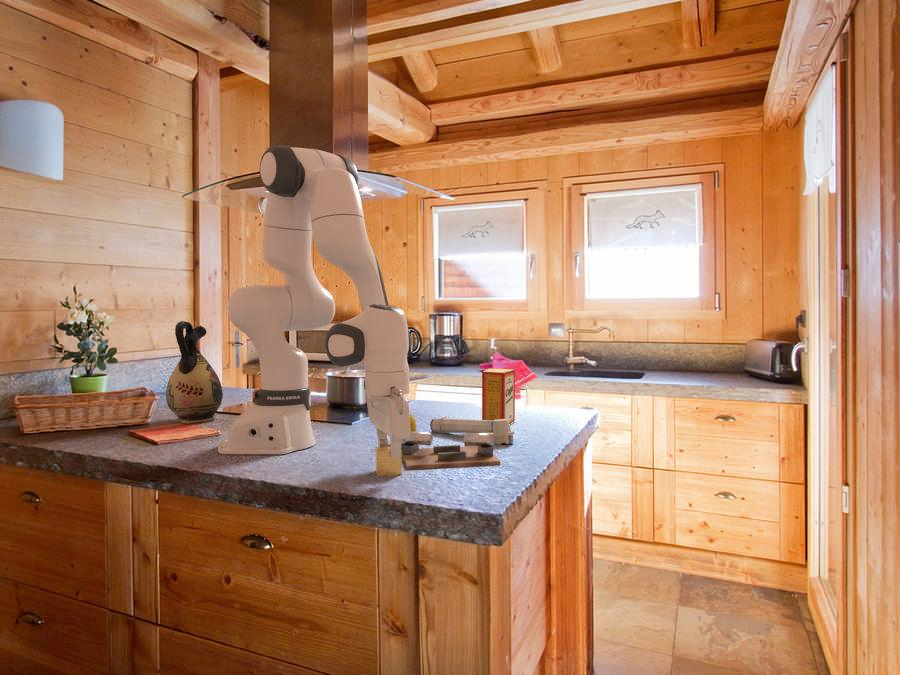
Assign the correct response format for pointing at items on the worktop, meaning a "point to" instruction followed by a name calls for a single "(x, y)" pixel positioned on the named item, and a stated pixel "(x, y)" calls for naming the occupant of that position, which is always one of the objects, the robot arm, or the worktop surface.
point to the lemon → (412, 424)
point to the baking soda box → (498, 394)
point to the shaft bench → (448, 457)
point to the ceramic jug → (193, 380)
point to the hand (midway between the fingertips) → (388, 452)
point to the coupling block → (387, 462)
